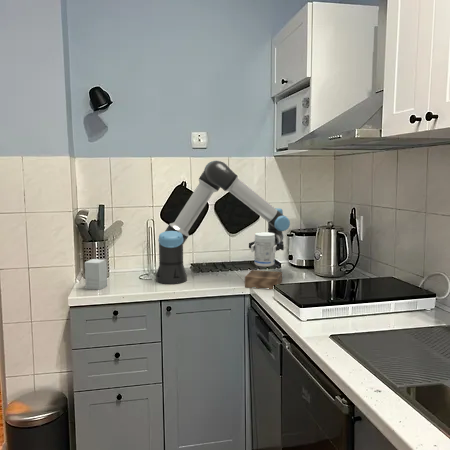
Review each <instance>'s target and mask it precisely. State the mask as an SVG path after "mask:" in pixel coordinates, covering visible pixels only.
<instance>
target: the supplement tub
mask: <svg viewBox="0 0 450 450" xmlns="http://www.w3.org/2000/svg"><path fill="white" fill-rule="evenodd" d="M254 241H255V251H254V261H253V262H254V265H256V266H258V267H271V266H274V265H275V263H276V261H275V260H276V258H275V257H276V254H275V253H276V252H275V253H273V247H274V246H275V234H274V233H269V232H268V231H267V232H266V231H264V232H263V231H262V232H255V234H254Z"/></svg>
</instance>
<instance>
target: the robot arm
mask: <svg viewBox="0 0 450 450" xmlns="http://www.w3.org/2000/svg"><path fill="white" fill-rule="evenodd" d="M198 181H199V183H198V185H197V186H196V188H195V190H194V191H193V192H192V194H191V196H190V197H189V199H188V200H187V202H186V203H185V205H184V206H183V207H182V209H181V211H180V212H179V214H178V216H177V217H176V219H175V221H174V222H171V223H169V224H168V225H167V227H166V228H165V230H164V231H163V232H161V233H160V234H159V235H158V259H159V260H158V261H159V263H158V268H157V271H156V274H155V281H156V282H157V283H159V284H165V285H166V284H167V285H174V284H181V283H182V284H183V283H185V282H187V281H188V274H187V272H186V269H185V265H184V245H185V243H186V241H187V239H188V238H189V237H190V235H189V231H190V229H191V228H192V226H193V225H194V223H195V222H196V220H197V219H198V217H199V215H200V214H201V212H202V211H203V210H204V208H205V207H206V205H207V203H208V201H209V200H210V198H212V195H214V193H217V192H218V191H219V190H220V189H222V190H223V191H224V192H229V193H230V194H231V195H233V196H234V197H235V198H236V199H238V200H239V201H241V202H242V203H243V204H244V205H246V206H247V207H248V208H249V209H250V210H251V211H253V212H255V214H256V215H258V216H259V217H260V218H262V219H263V220H264V221H266V222H267V232H269V233H274V234H275V246H274V247H273V253H277V251H278V252H279V251H280V250H281V251H284V250H285V248H284V245H285V244H284V241H283V240H284V234H283V232H286V231H287V230H288V229H289V228H290V225H291V222H290V219H289V218H288V217H287V216H286V215H284V211H283V209H282V208H279V207H274V206H273V205H272V204H270V203H269V202H268V201H267V200H265V199H264V198H263V197H262V196H261V195H259V194H258V193H256V191H255V190H253V189H252V188H250V187H249V186H248V185H247V184H245V183H244V182H243V181H241V180H240V179H239V176H238V175H237V174H236V173H235V172H234V171H233V170H232V169H231V168H230V167H229V166H228V165H227V163H225V162H224V161H221V160H213V161H209V162H208V163H207V164H206V165H205V167H204V170H203V171H202V173H201V175H200V176H199V178H198ZM248 249H250V252H251V253H253V252H255V240H253V241H251V242H249V243H248Z"/></svg>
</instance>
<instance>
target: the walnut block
mask: <svg viewBox="0 0 450 450" xmlns="http://www.w3.org/2000/svg"><path fill="white" fill-rule="evenodd" d="M282 283H283V271H272V270H257V269H256V270H255V269H252V270H250V271H249V272H248V273H247V274H246V275H245V276H244V287H245V288H249V289H253V288H252V287H256V288H255V289H259V288H269V289H268V290H271V289H273V286H274V285H277V284H282Z"/></svg>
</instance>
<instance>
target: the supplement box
mask: <svg viewBox="0 0 450 450" xmlns="http://www.w3.org/2000/svg"><path fill="white" fill-rule="evenodd" d="M107 267H108V266H107V259H100V258H99V259H98V258H92V259H89V260H87V261H85V262H84V278H85V290H97V291H99V290H102V289H104V288H107V287H108V274H107V273H108V272H107V271H108V270H107Z"/></svg>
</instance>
